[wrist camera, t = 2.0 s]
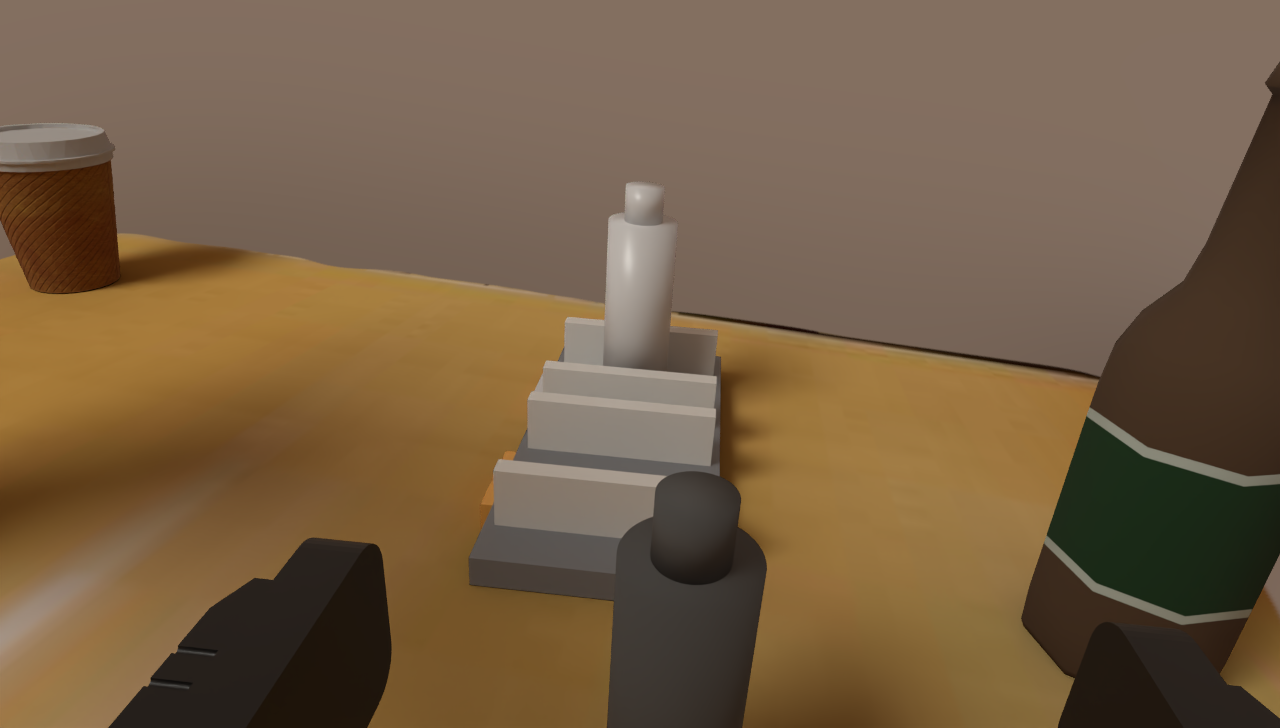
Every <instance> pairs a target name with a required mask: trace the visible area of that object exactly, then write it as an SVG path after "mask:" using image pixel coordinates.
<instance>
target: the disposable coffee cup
mask: <svg viewBox="0 0 1280 728" xmlns="http://www.w3.org/2000/svg"><path fill="white" fill-rule="evenodd" d="M114 150H115V146H114V144H112V143H110V142H109V139H108V137H107V135H106V133H105V131H104V130H103V129H102V128H100V127H96V126H91V125H83V124H65V123H38V124H20V125H7V126H0V221H1V223H2V225H3V228H4V230H5V232H6V235H7V237H8V239H9V241H10V244H11V246H12V247H13V250H14V252H15V254H16V257H17V259H18V261H19V264H20V266H21V268H22V270H23V272H24V274H25V276H26V279H27V281H28V283H29V286H30V288H31V289H34V290H36V291H39V292H46V293H72V292H81V291H88V290H92V289H96V288H100V287H103V286H106V285H109V284H111V283H113V282H115V281H117V280H118V279H119V278H120V276H121V275H120V266H119V253H118V242H117V228H116V216H115V205H114V191H113V178H112V169H111V159H112V158H113V151H114Z"/></svg>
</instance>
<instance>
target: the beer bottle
mask: <svg viewBox="0 0 1280 728" xmlns="http://www.w3.org/2000/svg"><path fill="white" fill-rule="evenodd" d="M1265 84H1266V85H1267V87H1268V88H1269V90H1270V91H1271V92H1272V94H1273V95H1272V97H1271V99H1270V101H1269V104H1268V106H1267V108H1266V111H1265V113H1264V115H1263V117H1262V119H1261V122H1260V124H1259V126H1258V128H1257V130H1256V133H1255V135H1254V137H1253V140H1252V142H1251V144H1250V147H1249V148H1248V151H1247V153H1246V155H1245V157H1244V160H1243V162H1242V164H1241V166H1240V169H1239V171H1238V173H1237V175H1236V178H1235V180H1234V182H1233V184H1232V187H1231V189H1230V191H1229V193H1228V196H1227V198H1226V200H1225V202H1224V205H1223V207H1222V209H1221V211H1220V214H1219V216H1218V218H1217V220H1216V223H1215V225H1214V227H1213V229H1212V231H1211V234H1210V236H1209V238H1208V241H1207V243H1206V245H1205V246H1204V248H1203V249H1202V251H1201V253H1200V254H1199V256H1198V258H1197V259H1196V261H1195V263H1194V264H1193V266H1192V268H1191V270H1190V271H1189V273H1188V274H1187V276H1186V278H1185V279H1184V281H1183V282H1181V283H1180V284H1179V285H1177V286H1176V287H1174V288H1173V289H1172V290H1170V291H1169V292H1168V293H1166V294H1165V295H1163V296H1162V297H1160V298H1159V299H1158V300H1156V301H1155V302H1154V303H1152V304H1151V305H1149V306H1148V307H1147V308H1145V309H1144V310H1142V311H1141V313H1140V314H1139V315H1138V316H1137V317H1136V319H1135V320H1134V321H1133V322H1132V323H1131V325H1130V326H1129V327H1128V328H1127V329H1126V331H1125V332H1124V333H1123V334H1122V335H1121V336H1120V338H1119V339H1118V340H1117V341H1116V343H1115V345H1114V347H1113V350H1112V352H1111V354H1110V357H1109V359H1108V361H1107V363H1106V366H1105V368H1104V370H1103V373H1102V375H1101V377H1100V380H1099V382H1098V385H1097V388H1096V391H1095V393H1094V396H1093V399H1092V402H1091V405H1090V407H1089V410H1088V413H1087V416H1086V419H1085V422H1084V425H1083V428H1082V431H1081V434H1080V437H1079V440H1078V443H1077V446H1076V449H1075V452H1074V455H1073V458H1072V461H1071V464H1070V467H1069V470H1068V473H1067V476H1066V479H1065V482H1064V485H1063V488H1062V491H1061V494H1060V497H1059V500H1058V503H1057V506H1056V509H1055V512H1054V515H1053V518H1052V521H1051V524H1050V527H1049V530H1048V533H1047V536H1046V539H1045V542H1044V544H1043V547H1042V550H1041V553H1040V556H1039V559H1038V562H1037V565H1036V568H1035V571H1034V574H1033V577H1032V580H1031V583H1030V586H1029V590H1028V594H1027V598H1026V602H1025V606H1024V610H1023V614H1022V618H1021V619H1022V622H1023V625H1024V627H1025V628H1026V629H1027V630H1028V632H1029V633H1030V634H1031V635H1032V636H1033V637H1034V639H1035V640H1036V641H1037V642H1038V643H1039V644H1040V646H1041V647H1042V648H1043V649H1044V650H1045V651H1046V653H1047V654H1048V655H1049V656H1050V657H1051V658H1052V660H1053V661H1054V662H1055V663H1056V664H1057V666H1058V667H1059V668H1060V669H1061V670H1062V671H1063V673H1064V674H1067V675H1069V676H1071V677H1073V678H1075V677H1076V675H1077V672H1078V669H1079V667H1080V664H1081V661H1082V659H1083V656H1084V653H1085V651H1086V648H1087V645H1088V642H1089V640H1090V637H1091V635H1092V633H1093V631H1094V630H1095V628H1096V627H1097V626H1098V625H1099V624H1101V623H1103V622H1114V623H1124V624H1133V625H1143V626H1153V627H1162V628H1172V629H1179V630H1182V631H1184V632H1186V633H1187V634H1188V635H1190V636H1191V637H1192V638H1193V639H1194V641H1195V642H1196V643H1197V644H1198V646H1199V647H1200V648H1201V650H1202V651H1203V652H1204V654H1205V655H1206V657H1207V658H1208V659H1209V661H1210V662H1211V663H1212V665H1213V666H1214V667H1215V669H1216V670H1217V672H1218V673H1220V672H1221V670H1222V669H1223V667H1224V665H1225V664H1226V662H1227V660H1228V658H1229V656H1230V654H1231V652H1232V650H1233V648H1234V646H1235V643H1236V641H1237V639H1238V637H1239V635H1240V633H1241V631H1242V629H1243V627H1244V625H1245V623H1246V621H1247V619H1248V617H1249V615H1250V613H1251V611H1252V609H1253V607H1254V605H1255V603H1256V601H1257V599H1258V597H1259V595H1260V593H1261V591H1262V589H1263V587H1264V585H1265V583H1266V581H1267V579H1268V577H1269V575H1270V573H1271V571H1272V569H1273V566H1274V565H1275V563H1276V561H1277V558H1278V556H1279V554H1280V62H1279V64H1278V65H1277V66H1276V68H1275V69H1274V71H1273V72H1272V74H1271V75H1270V77H1269V78H1268V80H1267V81H1266V82H1265Z"/></svg>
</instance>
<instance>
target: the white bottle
mask: <svg viewBox="0 0 1280 728" xmlns="http://www.w3.org/2000/svg"><path fill="white" fill-rule="evenodd" d="M664 193H665V187H664V186H663V185H661V184H657V183H653V182H630V183H627V184H626V196H625V212H624V213H618V214H615V215H612V216H610V217H609V225H608V250H607V276H606V300H605V325H604V350H603V366H611V367H621V368H632V369H643V370H654V371H664V372H667V360H668V347H669V334H670V321H671V308H672V295H673V283H674V269H675V257H676V244H677V231H678V221H677V220H676V219H674V218H672V217H669V216H666V215H663V207H664Z"/></svg>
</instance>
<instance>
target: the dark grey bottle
mask: <svg viewBox="0 0 1280 728" xmlns="http://www.w3.org/2000/svg"><path fill="white" fill-rule="evenodd" d="M740 504H741V496H740V493H739V491H738V490H737V488H736V487H735V486H734V485H733V484H732V483H730V482H729V481H727V480H726V479H724V478H722V477H719V476H717V475H714V474H710V473H706V472H699V471H685V472H678V473H674V474H671V475H669V476H667V477H665V478H664V479H662V480H661V481H660V482H659V483H658V485H657V486H656V489H655V499H654V512H653V517H651V518H648V519H645V520H643V521H641V522H639V523H637V524H636V525H634V526H633V527H631V528H630V529H629V530H628V531H627V532H626V533H625V534H624V535H623V537H622V538H621V540H620V542H619V544H618V548H617V555H616V574H615V592H614V610H613V629H612V647H611V665H610V683H609V702H608V720H607V728H742V725H743V718H744V712H745V705H746V699H747V693H748V686H749V680H750V673H751V667H752V660H753V654H754V648H755V641H756V635H757V628H758V622H759V616H760V609H761V603H762V596H763V590H764V583H765V577H766V571H767V565H766V559H765V556H764V554H763V551H762V550H761V548H760V546H759V545H758V544H757V543H756V541H755V540H754V539H753V538H752V537H751V536H750V535H748V534H747V533H746V532H745V531H743V530H742V529H740V528H738V519H739V511H740Z"/></svg>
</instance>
